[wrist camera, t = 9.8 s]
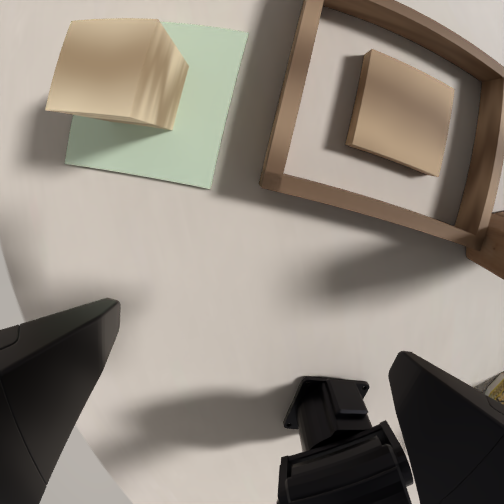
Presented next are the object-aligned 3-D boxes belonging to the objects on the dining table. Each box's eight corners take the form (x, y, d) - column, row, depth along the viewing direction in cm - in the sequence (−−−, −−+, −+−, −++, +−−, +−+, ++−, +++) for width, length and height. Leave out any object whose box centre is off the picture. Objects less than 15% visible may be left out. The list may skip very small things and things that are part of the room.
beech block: (172, 130, 19) (129, 117, 11) (111, 121, 18) (45, 110, 11) (189, 66, 17) (158, 19, 10) (127, 60, 17) (71, 21, 9)
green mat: (210, 188, 20) (210, 188, 20) (67, 163, 19) (64, 163, 19) (248, 34, 17) (248, 32, 17) (101, 23, 16) (99, 21, 16)
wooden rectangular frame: (458, 240, 22) (480, 251, 19) (258, 183, 20) (261, 187, 18) (489, 77, 18) (511, 73, 15) (305, -10, 16) (314, -29, 13)
